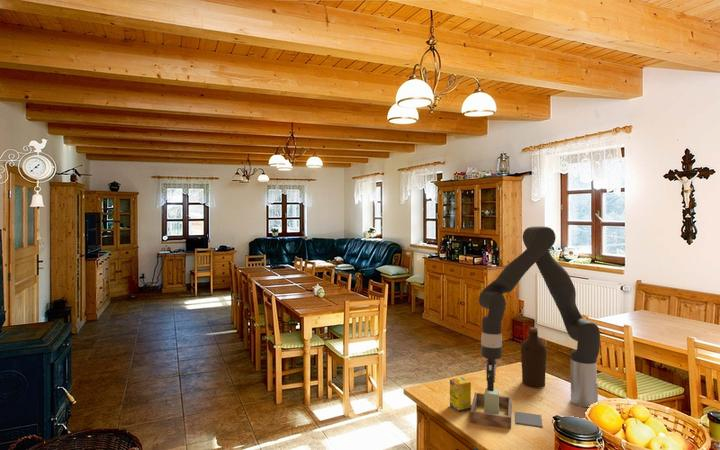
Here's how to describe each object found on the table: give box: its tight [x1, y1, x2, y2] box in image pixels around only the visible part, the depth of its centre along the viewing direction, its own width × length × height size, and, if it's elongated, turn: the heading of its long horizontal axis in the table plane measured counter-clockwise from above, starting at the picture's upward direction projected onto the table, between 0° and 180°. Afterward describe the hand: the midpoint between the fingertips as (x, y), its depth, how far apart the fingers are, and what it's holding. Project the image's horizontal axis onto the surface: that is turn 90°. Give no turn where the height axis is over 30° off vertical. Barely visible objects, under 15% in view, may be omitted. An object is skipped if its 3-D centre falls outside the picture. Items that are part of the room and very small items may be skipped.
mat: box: [515, 411, 543, 428], centre depth 160 cm, size 9×9×1 cm
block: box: [483, 387, 500, 415], centre depth 164 cm, size 5×5×9 cm
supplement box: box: [449, 376, 472, 413], centre depth 170 cm, size 6×6×11 cm
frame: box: [469, 391, 513, 429], centre depth 164 cm, size 14×18×4 cm
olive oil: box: [520, 327, 548, 389], centre depth 192 cm, size 11×11×25 cm
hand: (491, 386), depth 164 cm, fingers open, 8 cm apart
